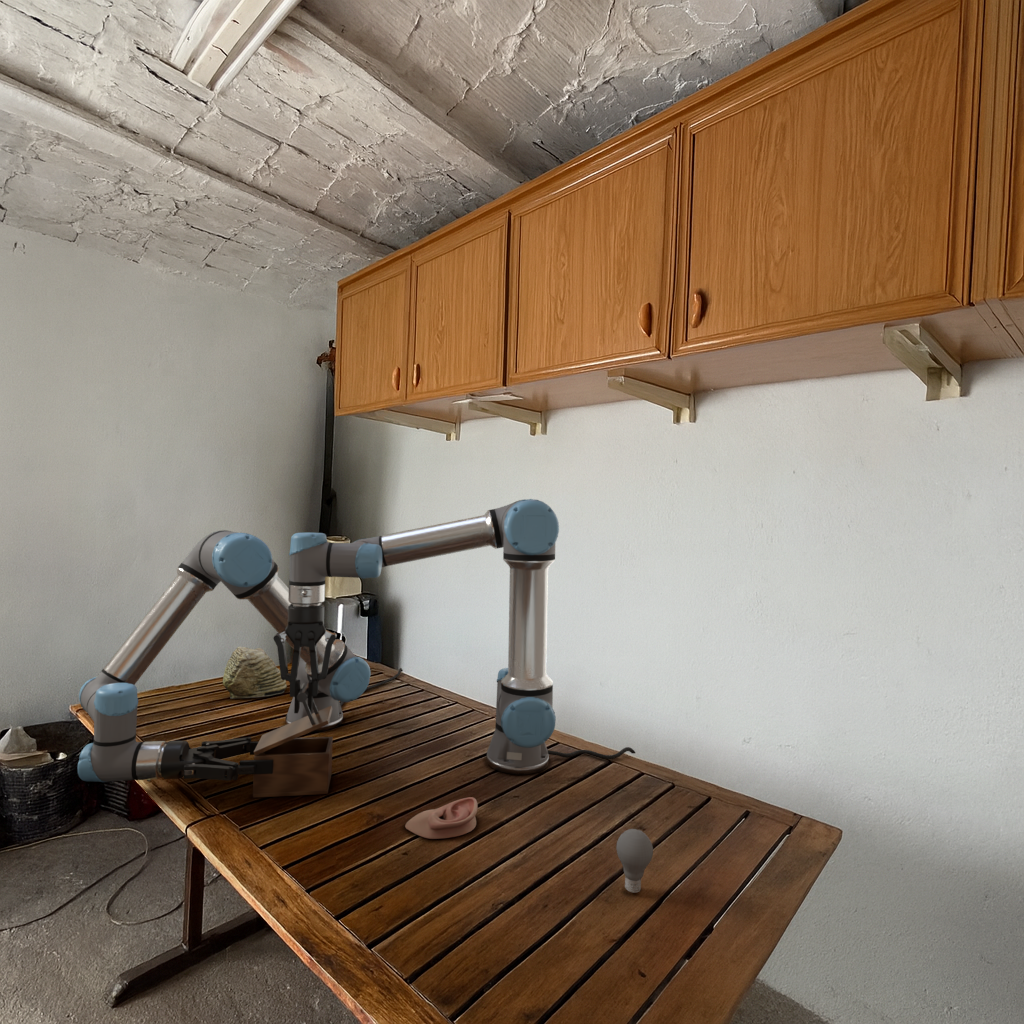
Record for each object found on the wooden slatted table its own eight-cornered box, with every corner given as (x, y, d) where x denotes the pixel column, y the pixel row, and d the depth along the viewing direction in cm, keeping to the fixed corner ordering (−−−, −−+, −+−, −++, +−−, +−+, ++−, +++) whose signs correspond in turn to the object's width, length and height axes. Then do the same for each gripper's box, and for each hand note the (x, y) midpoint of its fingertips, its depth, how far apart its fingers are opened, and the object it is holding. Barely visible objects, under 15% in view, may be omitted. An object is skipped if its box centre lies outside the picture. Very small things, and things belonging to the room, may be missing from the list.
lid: (332, 709, 144) (318, 675, 143) (328, 724, 135) (314, 688, 134) (263, 738, 141) (249, 704, 141) (254, 755, 132) (239, 719, 131)
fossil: (218, 695, 195) (220, 647, 195) (278, 685, 208) (279, 640, 207) (228, 703, 189) (230, 653, 188) (289, 692, 201) (290, 645, 201)
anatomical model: (399, 813, 120) (420, 787, 131) (398, 834, 120) (419, 806, 131) (467, 823, 117) (482, 796, 128) (466, 845, 117) (481, 815, 128)
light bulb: (610, 879, 108) (613, 822, 108) (644, 879, 109) (647, 822, 109) (619, 902, 102) (622, 840, 102) (655, 901, 103) (658, 840, 103)
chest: (331, 774, 144) (332, 736, 144) (327, 794, 135) (328, 753, 135) (261, 777, 141) (262, 738, 141) (252, 797, 132) (254, 756, 132)
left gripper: (181, 756, 144) (284, 753, 148) (144, 803, 122) (266, 797, 127) (182, 723, 144) (285, 721, 148) (145, 764, 122) (268, 760, 126)
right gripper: (266, 606, 133) (263, 718, 133) (341, 606, 136) (337, 715, 136) (273, 600, 140) (270, 706, 140) (343, 600, 143) (340, 704, 143)
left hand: (277, 756), depth 137 cm, fingers closed on chest, 10 cm apart
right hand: (303, 710), depth 138 cm, fingers closed on lid, 2 cm apart
